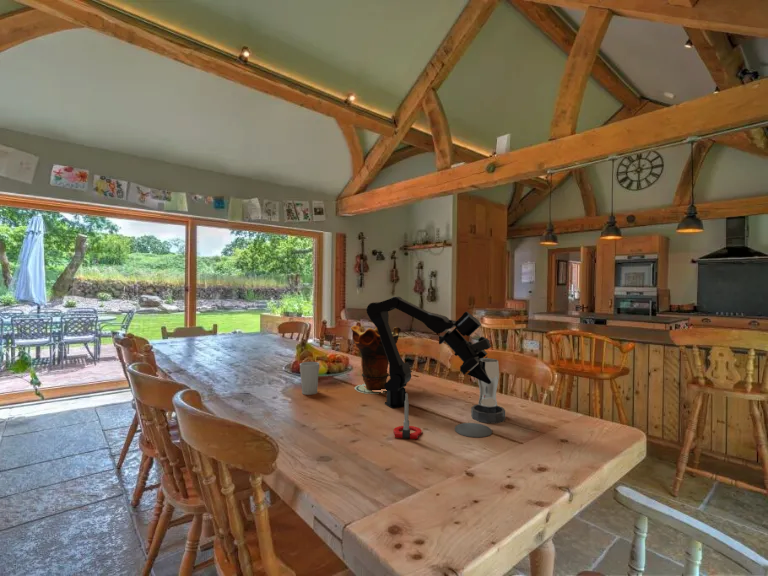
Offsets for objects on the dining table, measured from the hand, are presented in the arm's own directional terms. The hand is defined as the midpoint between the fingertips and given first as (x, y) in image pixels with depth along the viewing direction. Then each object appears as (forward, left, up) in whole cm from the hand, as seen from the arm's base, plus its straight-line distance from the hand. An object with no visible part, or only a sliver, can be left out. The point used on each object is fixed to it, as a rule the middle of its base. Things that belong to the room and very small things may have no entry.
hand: (492, 380), depth 129 cm
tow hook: (-32, +1, -13) cm, 34 cm away
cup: (-46, +58, -13) cm, 75 cm away
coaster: (-13, -6, -12) cm, 19 cm away
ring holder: (-1, +1, -12) cm, 12 cm away
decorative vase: (-19, +52, -13) cm, 57 cm away
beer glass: (-1, +1, -8) cm, 9 cm away
